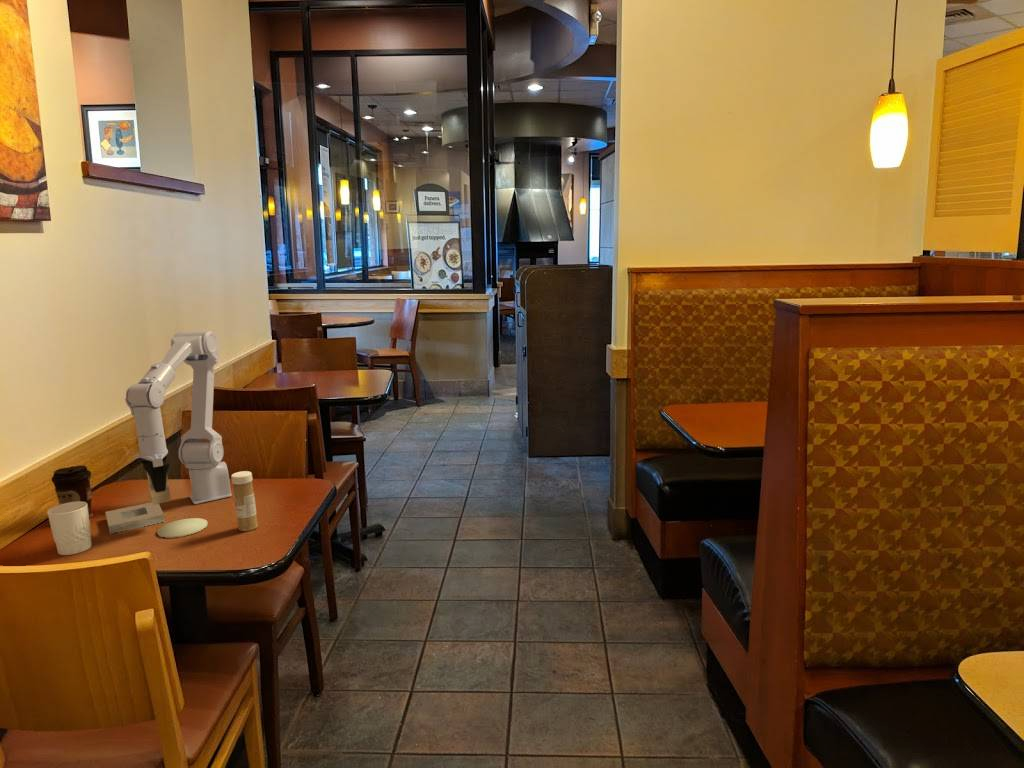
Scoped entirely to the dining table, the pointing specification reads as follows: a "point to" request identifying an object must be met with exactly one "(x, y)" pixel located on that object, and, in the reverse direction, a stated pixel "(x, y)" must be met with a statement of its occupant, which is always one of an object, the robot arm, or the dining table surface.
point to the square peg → (159, 493)
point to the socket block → (134, 517)
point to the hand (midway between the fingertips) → (159, 488)
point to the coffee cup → (73, 485)
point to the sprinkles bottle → (244, 500)
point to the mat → (182, 527)
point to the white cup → (70, 527)
